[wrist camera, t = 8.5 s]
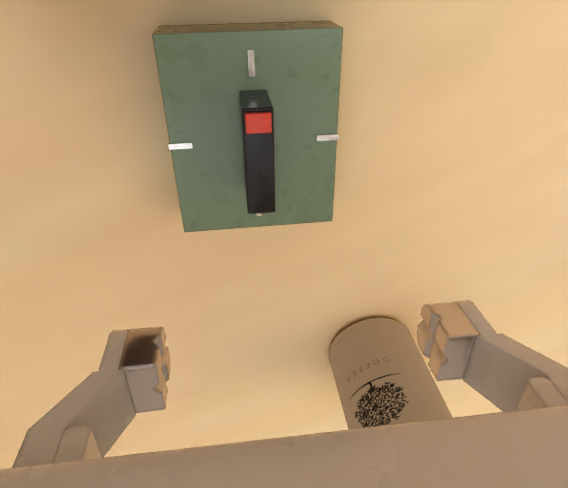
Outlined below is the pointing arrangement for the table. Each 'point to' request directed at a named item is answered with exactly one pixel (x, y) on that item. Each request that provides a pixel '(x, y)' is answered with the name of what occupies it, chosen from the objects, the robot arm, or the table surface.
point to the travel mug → (383, 376)
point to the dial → (258, 150)
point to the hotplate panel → (227, 124)
